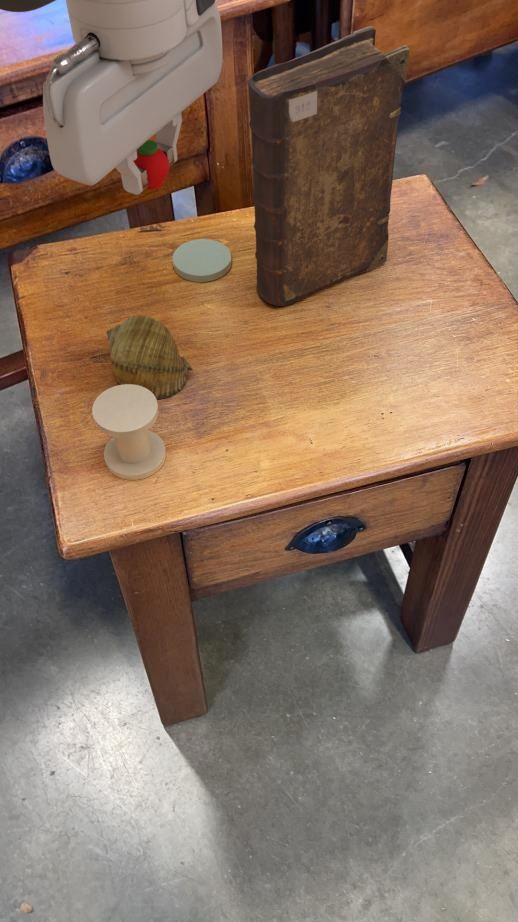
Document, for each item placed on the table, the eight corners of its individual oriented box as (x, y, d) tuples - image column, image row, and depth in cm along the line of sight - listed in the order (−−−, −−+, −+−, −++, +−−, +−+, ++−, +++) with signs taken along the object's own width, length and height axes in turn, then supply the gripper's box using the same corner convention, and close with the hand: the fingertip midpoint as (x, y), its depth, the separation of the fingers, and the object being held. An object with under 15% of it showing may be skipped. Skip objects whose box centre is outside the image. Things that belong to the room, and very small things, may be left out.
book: (271, 313, 94) (268, 95, 74) (240, 279, 98) (230, 61, 78) (391, 266, 99) (419, 50, 79) (357, 235, 103) (377, 20, 83)
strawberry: (157, 198, 73) (151, 160, 70) (125, 187, 74) (119, 149, 71) (178, 179, 75) (174, 141, 72) (147, 169, 76) (141, 130, 73)
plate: (177, 285, 97) (176, 278, 96) (169, 249, 101) (168, 242, 100) (236, 278, 98) (235, 271, 97) (226, 242, 102) (225, 235, 101)
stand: (107, 484, 80) (94, 436, 74) (102, 438, 83) (89, 389, 77) (169, 474, 80) (161, 426, 75) (162, 429, 84) (153, 379, 78)
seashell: (187, 403, 91) (207, 333, 89) (174, 413, 85) (195, 337, 82) (103, 375, 91) (121, 304, 89) (83, 382, 84) (102, 306, 82)
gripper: (76, 80, 57) (111, 250, 68) (231, -31, 67) (239, 132, 78) (4, 58, 59) (50, 227, 70) (166, -47, 69) (183, 115, 80)
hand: (151, 176), depth 74 cm, fingers closed on strawberry, 3 cm apart
